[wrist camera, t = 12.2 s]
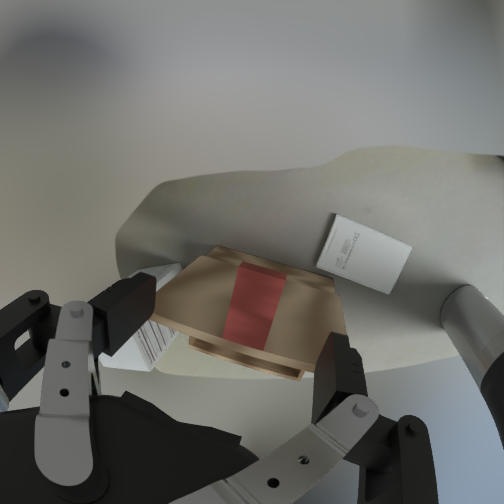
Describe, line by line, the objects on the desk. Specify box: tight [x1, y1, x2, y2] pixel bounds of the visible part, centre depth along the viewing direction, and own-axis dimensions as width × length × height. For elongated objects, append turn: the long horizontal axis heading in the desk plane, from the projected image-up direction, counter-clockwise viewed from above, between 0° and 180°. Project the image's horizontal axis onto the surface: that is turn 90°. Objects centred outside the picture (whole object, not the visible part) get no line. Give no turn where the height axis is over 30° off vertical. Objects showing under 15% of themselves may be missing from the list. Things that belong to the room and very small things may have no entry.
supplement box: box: [99, 263, 182, 372], centre depth 39 cm, size 10×9×17 cm
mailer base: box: [188, 245, 335, 381], centre depth 40 cm, size 18×15×7 cm
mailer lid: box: [149, 255, 347, 373], centre depth 26 cm, size 18×15×7 cm
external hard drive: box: [316, 214, 412, 295], centre depth 38 cm, size 2×8×12 cm
